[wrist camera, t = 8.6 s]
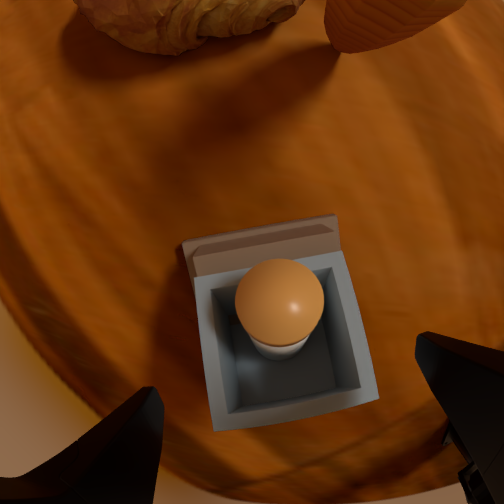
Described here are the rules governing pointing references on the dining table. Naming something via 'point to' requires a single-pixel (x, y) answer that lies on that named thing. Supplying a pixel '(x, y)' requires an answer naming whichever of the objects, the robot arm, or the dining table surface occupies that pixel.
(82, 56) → the dining table surface
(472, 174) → the dining table surface
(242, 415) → the leaning socket
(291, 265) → the orange-topped white peg
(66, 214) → the dining table surface
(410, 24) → the carrot
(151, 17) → the croissant
